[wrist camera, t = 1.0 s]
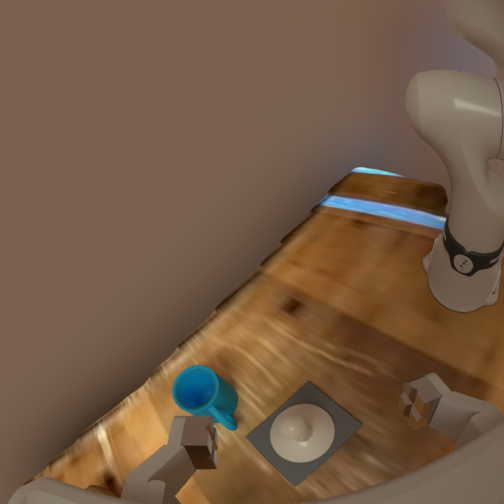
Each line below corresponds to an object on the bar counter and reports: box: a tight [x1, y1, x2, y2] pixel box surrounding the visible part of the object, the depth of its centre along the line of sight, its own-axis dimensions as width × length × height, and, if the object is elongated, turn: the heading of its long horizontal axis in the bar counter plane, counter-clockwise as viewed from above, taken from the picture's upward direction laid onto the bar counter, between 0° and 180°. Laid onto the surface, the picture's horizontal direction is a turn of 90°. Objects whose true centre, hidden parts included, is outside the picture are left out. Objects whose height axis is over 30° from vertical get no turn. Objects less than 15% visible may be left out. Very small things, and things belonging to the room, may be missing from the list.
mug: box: [172, 365, 238, 431], centre depth 41 cm, size 12×8×8 cm
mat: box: [246, 381, 362, 486], centre depth 37 cm, size 14×12×1 cm
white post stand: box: [270, 404, 335, 463], centre depth 33 cm, size 10×10×10 cm
